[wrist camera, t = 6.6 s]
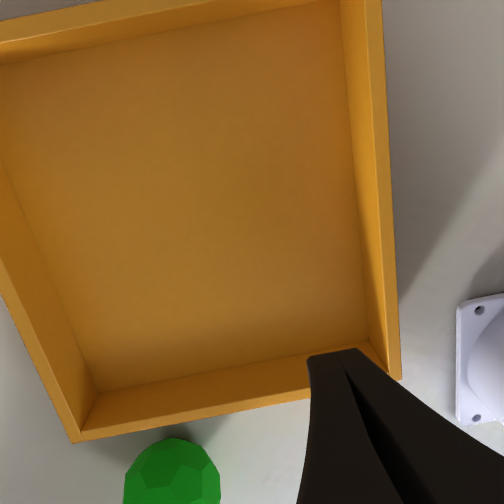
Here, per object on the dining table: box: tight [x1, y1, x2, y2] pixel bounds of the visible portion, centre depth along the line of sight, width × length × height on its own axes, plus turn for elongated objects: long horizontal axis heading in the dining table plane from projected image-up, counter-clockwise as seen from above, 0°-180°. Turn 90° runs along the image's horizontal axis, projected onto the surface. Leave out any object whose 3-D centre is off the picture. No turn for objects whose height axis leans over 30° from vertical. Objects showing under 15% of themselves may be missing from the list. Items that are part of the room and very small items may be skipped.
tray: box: [0, 0, 402, 444], centre depth 15 cm, size 15×16×3 cm
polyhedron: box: [123, 438, 221, 504], centre depth 19 cm, size 5×5×5 cm
